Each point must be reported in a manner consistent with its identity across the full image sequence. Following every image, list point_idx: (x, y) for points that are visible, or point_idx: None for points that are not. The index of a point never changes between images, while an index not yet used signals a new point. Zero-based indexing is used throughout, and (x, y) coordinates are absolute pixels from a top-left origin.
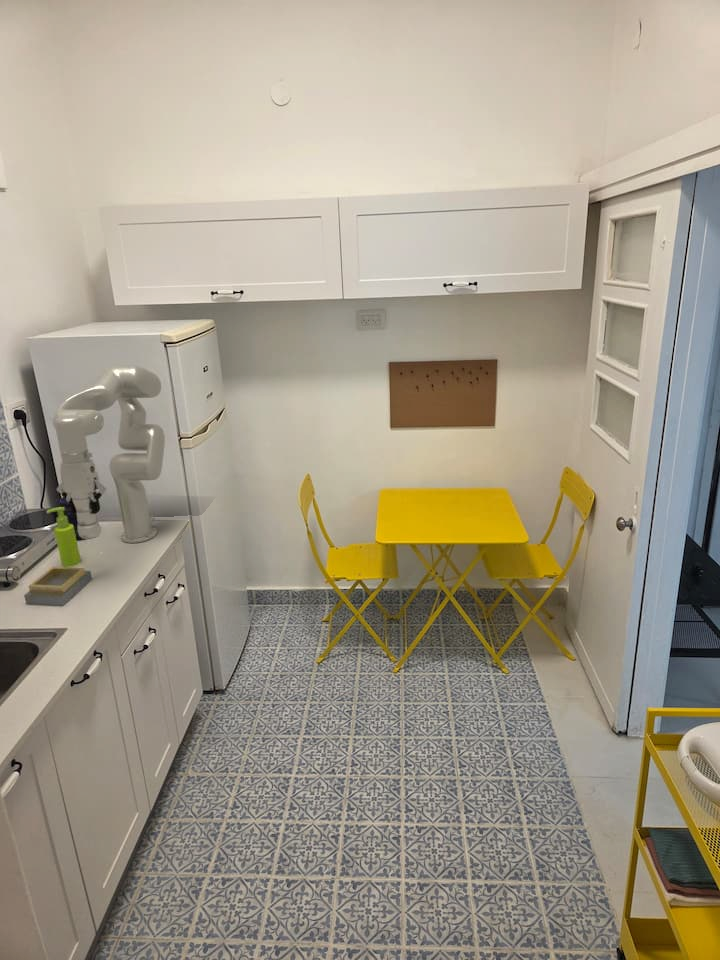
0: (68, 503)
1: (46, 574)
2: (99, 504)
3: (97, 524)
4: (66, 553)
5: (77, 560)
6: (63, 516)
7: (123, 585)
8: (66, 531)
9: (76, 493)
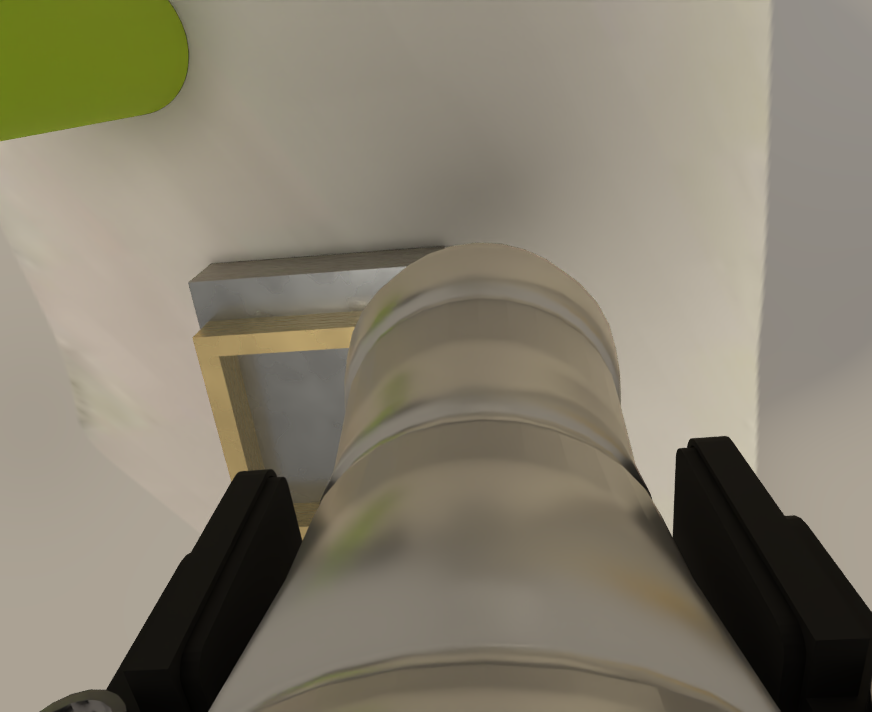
0: None
1: (236, 423)
2: (843, 575)
3: (620, 400)
4: (107, 118)
5: (177, 54)
6: None
7: (691, 283)
8: (2, 112)
9: None
